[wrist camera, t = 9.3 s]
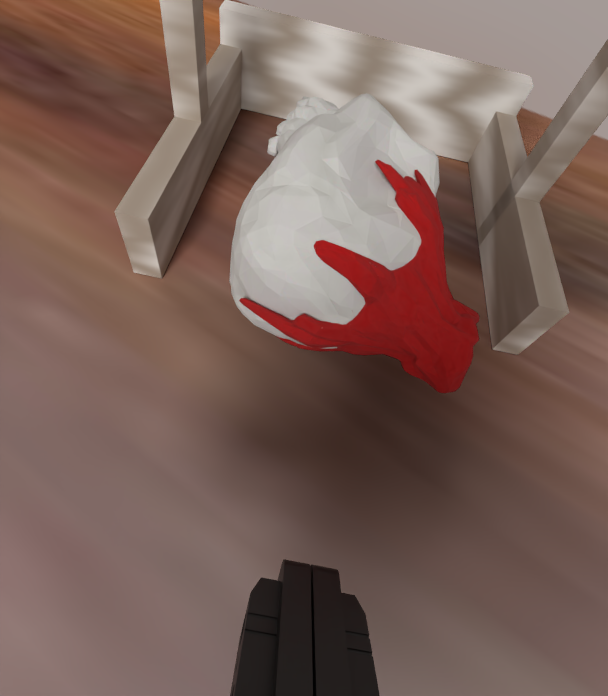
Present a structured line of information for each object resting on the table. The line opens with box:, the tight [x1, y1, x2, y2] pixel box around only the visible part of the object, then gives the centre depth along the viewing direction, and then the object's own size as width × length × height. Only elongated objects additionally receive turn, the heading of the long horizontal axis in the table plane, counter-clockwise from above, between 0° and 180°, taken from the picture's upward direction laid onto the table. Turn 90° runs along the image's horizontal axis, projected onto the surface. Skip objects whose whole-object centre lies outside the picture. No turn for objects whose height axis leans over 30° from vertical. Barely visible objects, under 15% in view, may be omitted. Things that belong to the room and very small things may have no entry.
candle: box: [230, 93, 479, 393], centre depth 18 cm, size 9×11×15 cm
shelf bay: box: [115, 0, 608, 355], centre depth 18 cm, size 22×20×21 cm
